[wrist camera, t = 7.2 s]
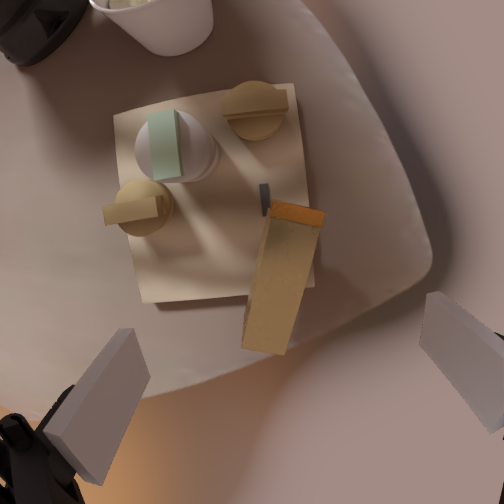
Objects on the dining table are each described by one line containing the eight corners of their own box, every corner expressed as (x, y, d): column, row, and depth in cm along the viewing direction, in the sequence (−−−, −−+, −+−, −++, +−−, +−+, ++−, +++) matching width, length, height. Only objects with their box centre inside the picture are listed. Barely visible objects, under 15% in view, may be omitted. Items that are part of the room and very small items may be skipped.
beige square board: (121, 118, 26) (61, 96, 15) (291, 89, 25) (310, 41, 14) (149, 296, 31) (105, 348, 20) (311, 280, 30) (338, 332, 19)
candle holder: (239, 26, 23) (231, -41, 12) (166, 79, 25) (118, 31, 13) (188, -14, 22) (163, -75, 10) (122, 34, 23) (72, -13, 12)
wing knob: (245, 293, 28) (240, 348, 19) (267, 193, 26) (273, 200, 16) (276, 299, 28) (284, 355, 19) (300, 200, 26) (325, 212, 16)
